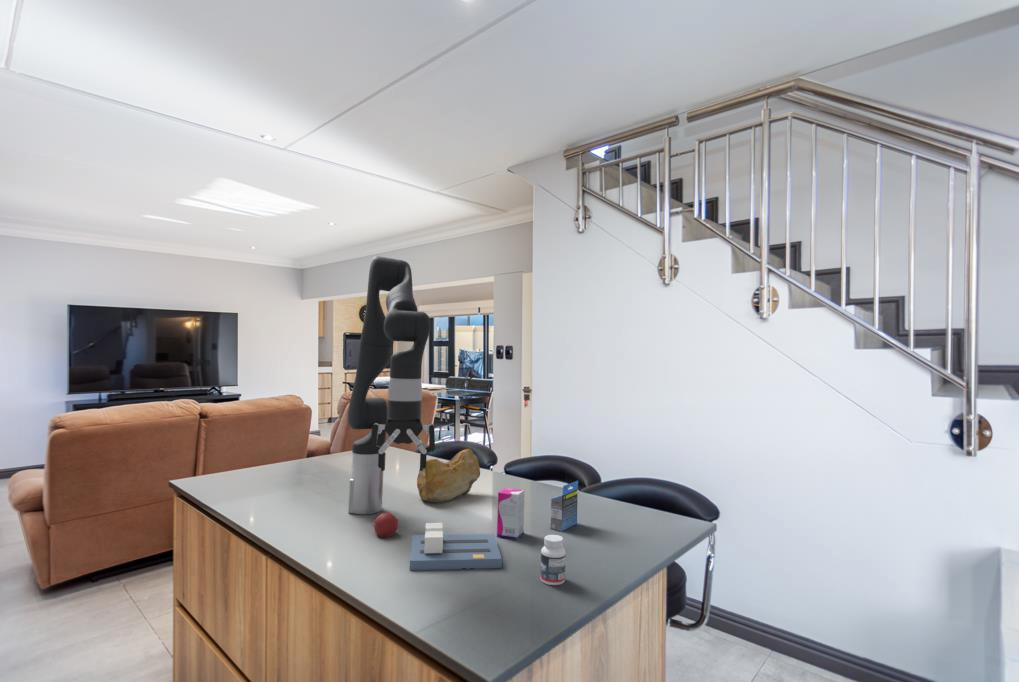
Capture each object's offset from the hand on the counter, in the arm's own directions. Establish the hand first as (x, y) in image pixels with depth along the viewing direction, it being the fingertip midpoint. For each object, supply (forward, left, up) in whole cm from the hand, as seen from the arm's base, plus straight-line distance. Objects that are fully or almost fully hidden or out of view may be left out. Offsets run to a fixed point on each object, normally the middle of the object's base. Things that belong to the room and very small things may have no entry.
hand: (402, 470), depth 116 cm
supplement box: (+28, +16, -21) cm, 38 cm away
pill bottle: (+33, -12, -21) cm, 40 cm away
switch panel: (+13, +3, -20) cm, 24 cm away
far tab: (+8, +6, -18) cm, 21 cm away
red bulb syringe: (-5, +17, -21) cm, 27 cm away
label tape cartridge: (+44, +22, -21) cm, 53 cm away
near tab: (+8, 0, -18) cm, 20 cm away
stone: (+11, +55, -21) cm, 60 cm away
